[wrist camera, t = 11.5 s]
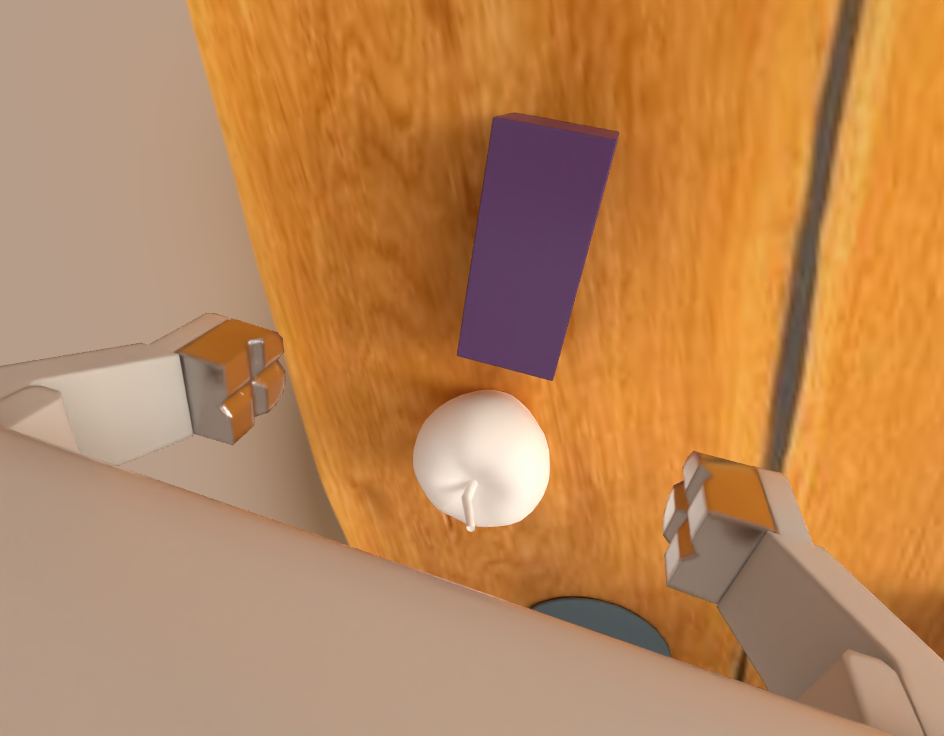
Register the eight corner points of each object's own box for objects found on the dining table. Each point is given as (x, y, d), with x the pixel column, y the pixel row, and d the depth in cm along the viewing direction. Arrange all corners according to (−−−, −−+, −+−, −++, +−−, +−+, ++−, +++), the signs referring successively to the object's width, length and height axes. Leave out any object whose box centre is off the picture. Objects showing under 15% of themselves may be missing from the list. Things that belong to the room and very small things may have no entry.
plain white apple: (500, 488, 32) (465, 596, 25) (416, 410, 31) (356, 502, 24) (586, 431, 28) (573, 538, 22) (495, 341, 27) (450, 425, 20)
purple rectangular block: (514, 112, 22) (493, 116, 19) (619, 131, 21) (617, 139, 18) (478, 322, 27) (456, 355, 24) (562, 343, 26) (552, 381, 23)
